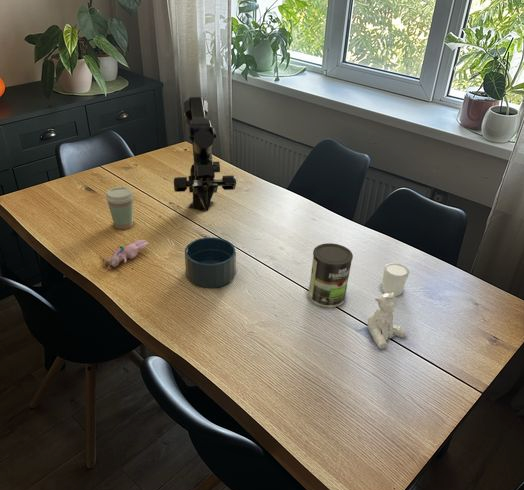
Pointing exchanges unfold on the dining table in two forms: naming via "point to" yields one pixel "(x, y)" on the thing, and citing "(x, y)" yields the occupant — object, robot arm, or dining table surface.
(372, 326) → the seated beast figurine
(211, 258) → the bowl
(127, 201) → the coffee cup
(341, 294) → the coffee can
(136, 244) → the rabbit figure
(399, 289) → the white candle jar
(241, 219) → the dining table surface
